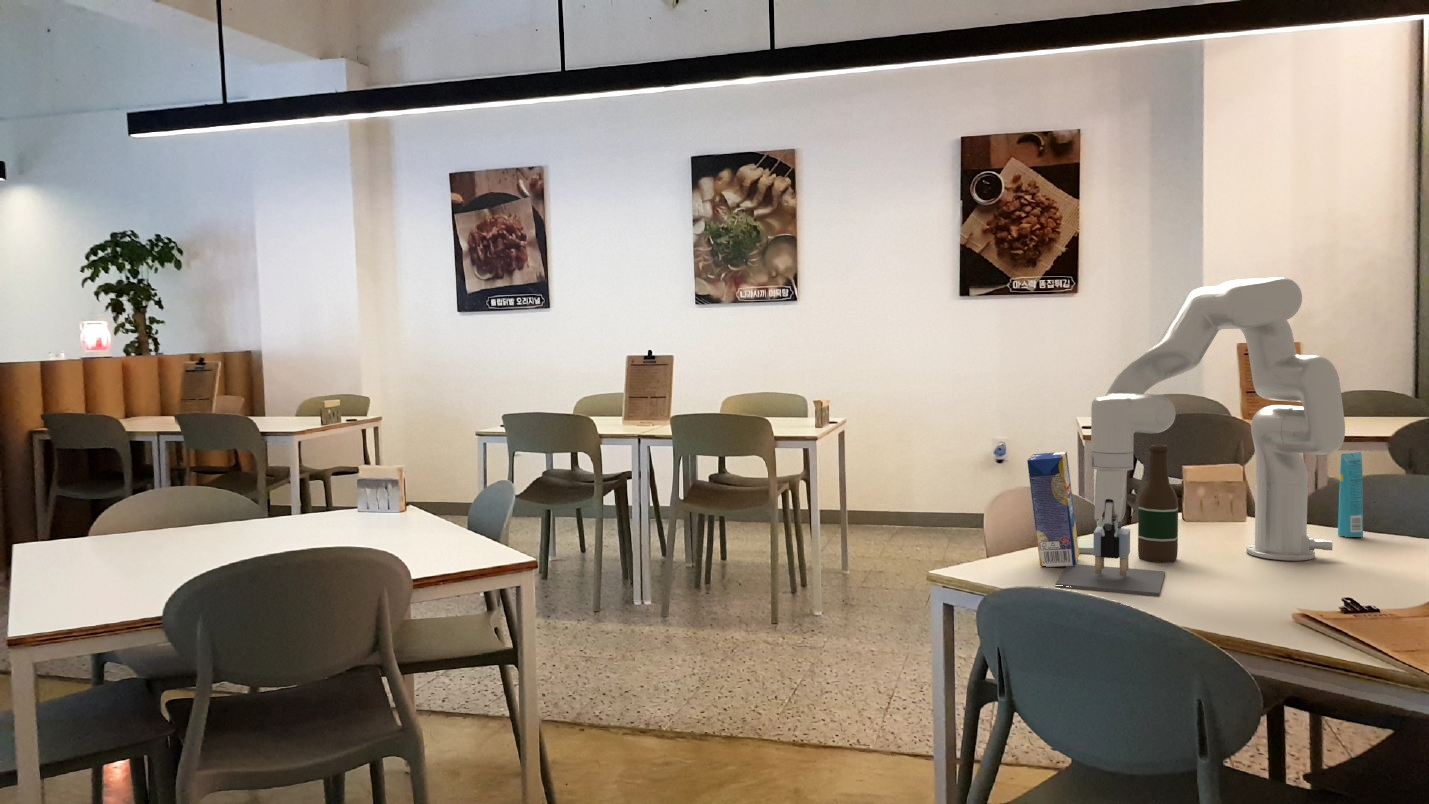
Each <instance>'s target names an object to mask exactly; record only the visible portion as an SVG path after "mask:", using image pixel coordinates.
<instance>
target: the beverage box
mask: <svg viewBox="0 0 1429 804" xmlns="http://www.w3.org/2000/svg"><path fill="white" fill-rule="evenodd" d="M1027 468H1028V476H1029V477H1028V478H1029V484H1030V485H1029V487H1030V492H1031V502H1032V503H1031V504H1032V511H1033V519H1034V525H1035V535H1036V541H1037V542H1036V543H1037V551H1038V558H1039V559H1038V560H1039V566H1046V567H1045V568H1048V567H1049V568H1050V567H1066V566H1075V565H1076V564H1077V563H1078V559H1079V556H1080V553H1079V548H1078V540H1077V538H1078V533H1077V526H1076V516H1075V515H1076V514H1075V507H1074V500H1073V491H1072V483H1071V475H1070V467H1069V459H1068V451H1067V450H1066V451H1057V452H1056V451H1055V452H1043V453H1033V454H1032V455H1030V456H1029V458H1028V459H1027Z"/></svg>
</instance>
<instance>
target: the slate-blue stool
mask: <svg viewBox="0 0 1429 804" xmlns="http://www.w3.org/2000/svg"><path fill="white" fill-rule="evenodd" d="M1101 536H1102V527H1097V526H1096V528H1095V529H1094V530H1093V539H1094V553H1093V556H1094V566H1095V573H1096V574H1102V569H1104V566H1105V558H1103V557H1101ZM1118 537H1119V558H1118V559H1119V568H1120V576H1126V571H1128V568H1129V561H1130V560H1129V555H1130V552H1131V528H1124V527H1123V528H1122V527H1121V528H1118Z"/></svg>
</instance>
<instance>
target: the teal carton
mask: <svg viewBox="0 0 1429 804" xmlns="http://www.w3.org/2000/svg"><path fill="white" fill-rule="evenodd" d="M1340 457H1341V458H1340V467H1339V468H1340V469H1339V486H1338V487H1339V491H1338V515H1337V516H1338V519H1337V535H1339V537H1340V536H1345V537H1344V538H1346V537H1361V538H1363V537H1362V536H1364V501H1363V499H1364V491H1363V490H1364V489H1363V487H1364V486H1363V483H1364V482H1363V480H1364V479H1363V478H1364V477H1363V476H1364V475H1363V458H1362V452H1361V451H1356V452H1348V453H1344V452H1343V453H1341V455H1340Z"/></svg>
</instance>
